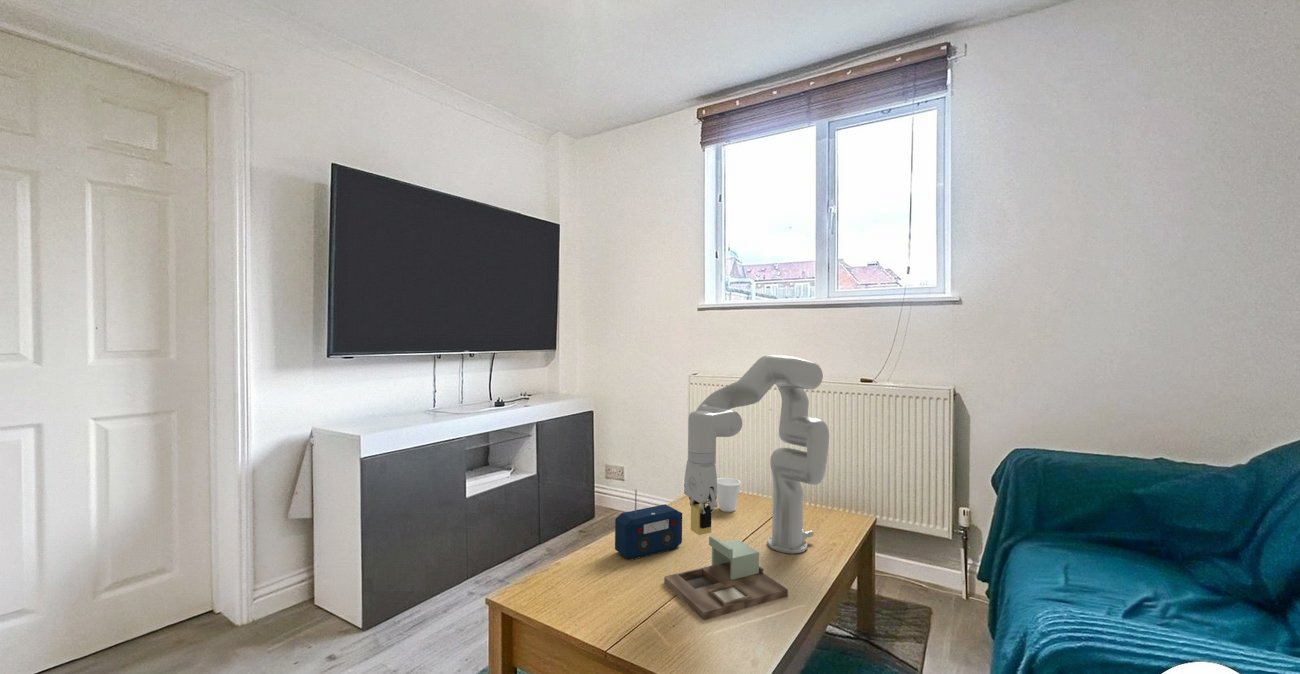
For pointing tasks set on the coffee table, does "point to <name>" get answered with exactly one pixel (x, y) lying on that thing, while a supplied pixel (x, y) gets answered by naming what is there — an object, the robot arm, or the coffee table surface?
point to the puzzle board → (723, 590)
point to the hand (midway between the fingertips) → (700, 523)
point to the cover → (735, 556)
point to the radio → (648, 531)
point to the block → (697, 520)
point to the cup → (727, 493)
